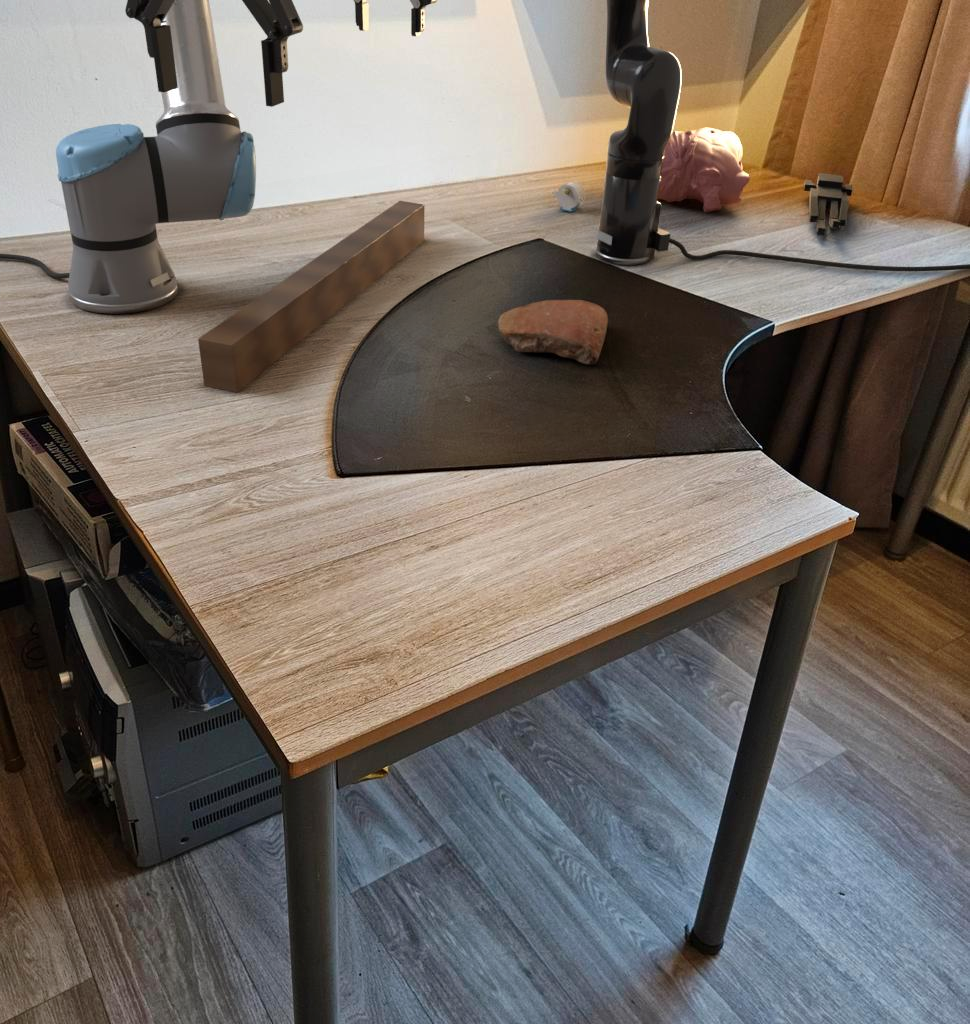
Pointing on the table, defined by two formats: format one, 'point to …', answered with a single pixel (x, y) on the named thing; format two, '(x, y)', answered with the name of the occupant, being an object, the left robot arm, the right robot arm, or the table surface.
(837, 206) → the toy
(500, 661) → the table surface
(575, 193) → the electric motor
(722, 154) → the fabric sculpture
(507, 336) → the ceramic shard
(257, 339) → the bar
